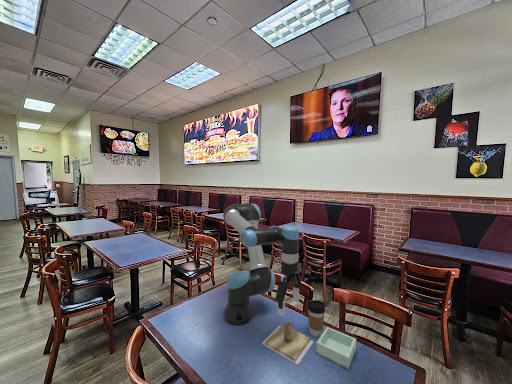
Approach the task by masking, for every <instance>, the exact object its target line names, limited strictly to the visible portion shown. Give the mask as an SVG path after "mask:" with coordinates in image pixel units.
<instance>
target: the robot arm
mask: <svg viewBox="0 0 512 384" xmlns="http://www.w3.org/2000/svg"><path fill="white" fill-rule="evenodd" d="M222 214H223V215H222V217H223V220H224V222H225V223H226V224H227V225H230V226H232V227H233V228H234V229H235V230H236V231H237V233H239V234H240V237H241V243H242V245H243V246H244V247H247V252H248V257H249V264H250V268H249V270H248V271H247V270H238V271H235V272H232V273H231V274H230V275H229V276H228V280H227V282H228V283H227V305H226V307H225V310H224V320H225V321H226V323H228V324H230V325H234V326H243V325H246V324H248V323H249V322H251V321H252V318H253V310H252V308H251V304H250V297H253V296H258V295H262V294H267V293H269V292H272V291H273V290H274V288H275V286H276V276H275V273H274V270H272V269H270V267H269V265H268V264H266V260H265V256H264V251H263V245H264V246H265V245H273V244H279V245H280V246H281V258H280V259H281V262H280V263H281V265H280V266H281V267H280V268H281V270H282V271H283V275H279V281H278V285H277V290H276V293H275V298H274V301H277V302H278V303H277V305H278V306H277V307H278V308H277V309H278V311H277V312H278V315H279V316H281V317H285V315H286V313H285V312H286V310H285V309H286V306H285V305H286V303H285V302H286V300H285V297H286V294H287V292H288V288H289V287H290V286H291V284H293V287H292V301H293V302H296V303H299V302H300V297H299V296H300V289H301V288H302V280H301V276H300V269H299V258H300V256H299V248H300V247H299V246H300V235H299V234H300V232H299V231H300V230H299V228H298V227H297V226H293V225H285V226H282V227H281V226H279V225H278V226H277V225H272V226H270V227H265V228H259V226H258V225H259V223H260V220H261V218H262V213H261V209H260V207H259V206H258V205H257V204H255V203H234V204H231V205H229V206H228V205H227V207H226V208H225V210H224V211H223V213H222Z"/></svg>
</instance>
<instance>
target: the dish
mask: <svg viewBox="0 0 512 384" xmlns="http://www.w3.org/2000/svg"><path fill="white" fill-rule="evenodd" d="M356 351H357V338H355V337H353V336H350V335H348V334H345V333H343V332H341V331H338V330H336V329H333V328H331V327H329V326H326V327H325V329H324V330H323V331H322V335H321V336H319V338H318V340H317V341H316V352H315V353H317V354H319V355H320V356H322V357H324V358H327V359H328V360H331V361H333V362H334V363H335V364H338V365H339V366H340V367H341V368H343V369H345V370H347V371H349V369H350V367H351V364H352V361H353V359H354V357H355V354H356Z"/></svg>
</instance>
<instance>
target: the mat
mask: <svg viewBox="0 0 512 384" xmlns="http://www.w3.org/2000/svg"><path fill="white" fill-rule="evenodd" d="M281 325H282V324H280V325H278V326H277V327H276V328H275V329H274V330H273V332H271V334H269V336H267V337H266V338H265V340H263V342H261V344H262V345H263V346H265V347H267V348H268V349H270V350H272V351H274V352H276V353H277V354H279V355H281V356H283V357H284V358H286V359H288V360H289V361H290V362H293V363H294V364H296V365H299V363H300V362H301V361H302V360H303V358H304V356H305V355H306V353H307V352H308V351H309V349H310V348H311V346H312V344H314V340H312V339H310V341H309V343H308V344H307V346H306V347H305V348H304V350H303V351H302V353H301V354H300V356H299V357H298V359H297V360H296V361H293V360H291V359H290V358H288V357H286V356H284V355H283V354H281V353H279V352H277V351H276V350H274V349H272V348H270V347H269V346H267V345H265V341H266V340H267V339H268V338H269V337H270V336H271V335H272V334H273V333H274V332H275V331H276V330H277V329H278V328H279V327H280V326H281Z"/></svg>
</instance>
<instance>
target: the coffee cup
mask: <svg viewBox="0 0 512 384" xmlns="http://www.w3.org/2000/svg"><path fill="white" fill-rule="evenodd" d="M306 306H307V317H308V319H307V320H308V332H309V334H310V335H311V336H313V337H317V338H318V337H319V338H320V337H321V335H322V334H323V328H324V322H325V321H324V320H325V312H326V304H325V302H324V301H321V300H318V299H317V300H316V299H314V300H309V301H308V302H307V305H306Z"/></svg>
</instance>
